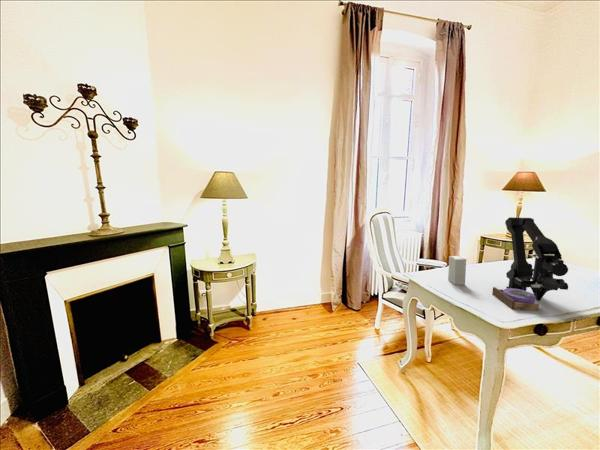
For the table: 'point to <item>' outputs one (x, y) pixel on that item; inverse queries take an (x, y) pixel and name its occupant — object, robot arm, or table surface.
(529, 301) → the tape roll
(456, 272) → the skincare box
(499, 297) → the brown flat open tray
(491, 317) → the table surface
